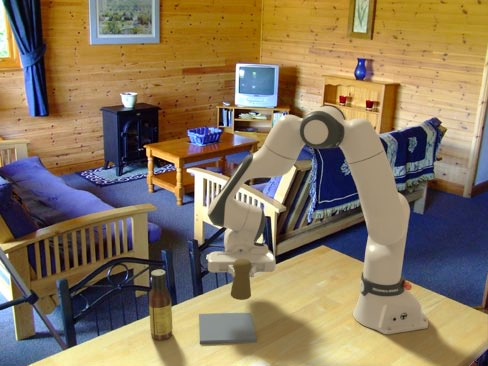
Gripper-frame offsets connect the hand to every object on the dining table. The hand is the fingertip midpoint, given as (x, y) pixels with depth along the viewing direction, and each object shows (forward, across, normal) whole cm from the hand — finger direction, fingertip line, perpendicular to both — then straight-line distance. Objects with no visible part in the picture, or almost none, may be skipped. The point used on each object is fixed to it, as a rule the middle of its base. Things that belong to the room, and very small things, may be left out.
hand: (243, 274), depth 153 cm
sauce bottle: (+3, -23, +18) cm, 29 cm away
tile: (+1, -4, +17) cm, 18 cm away
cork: (-1, 0, +7) cm, 7 cm away
